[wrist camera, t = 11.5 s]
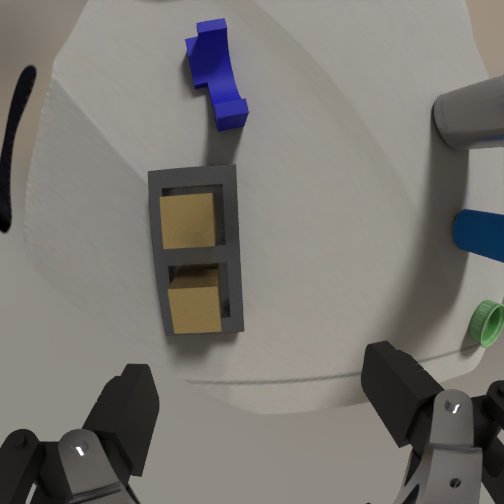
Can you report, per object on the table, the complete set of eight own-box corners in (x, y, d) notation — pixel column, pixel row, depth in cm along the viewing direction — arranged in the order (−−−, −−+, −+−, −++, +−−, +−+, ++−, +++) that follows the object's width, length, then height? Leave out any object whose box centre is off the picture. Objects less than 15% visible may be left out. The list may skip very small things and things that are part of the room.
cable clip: (187, 50, 27) (182, 26, 21) (223, 43, 27) (224, 18, 21) (205, 135, 30) (201, 121, 24) (243, 126, 30) (248, 112, 24)
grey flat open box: (234, 167, 31) (235, 164, 27) (242, 318, 34) (244, 331, 31) (155, 173, 30) (147, 171, 26) (170, 322, 33) (165, 335, 30)
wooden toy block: (218, 264, 32) (217, 286, 24) (221, 300, 33) (221, 331, 25) (180, 266, 32) (167, 289, 24) (184, 302, 32) (174, 333, 25)
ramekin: (461, 342, 41) (475, 351, 36) (474, 298, 39) (490, 306, 35) (484, 335, 42) (497, 343, 37) (496, 295, 40) (510, 302, 36)
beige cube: (214, 193, 30) (211, 193, 23) (217, 233, 31) (214, 246, 23) (175, 196, 30) (159, 197, 22) (178, 235, 31) (163, 249, 23)
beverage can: (467, 252, 36) (519, 269, 25) (445, 243, 36) (502, 260, 24) (476, 215, 35) (529, 225, 24) (454, 203, 34) (512, 211, 23)
